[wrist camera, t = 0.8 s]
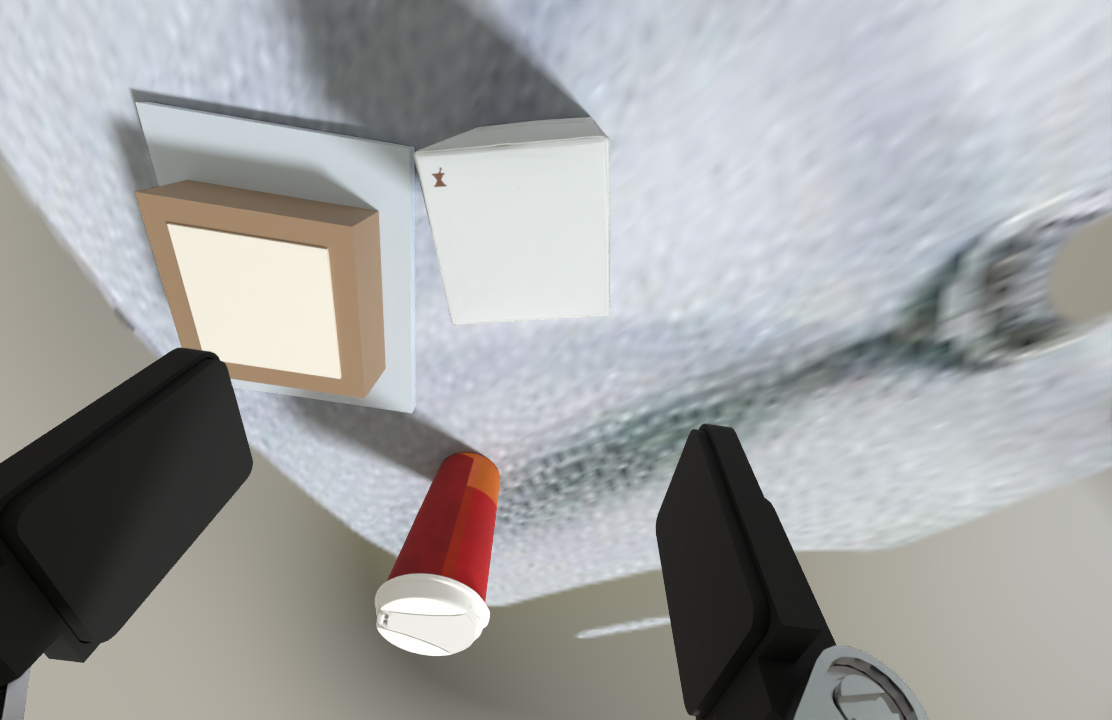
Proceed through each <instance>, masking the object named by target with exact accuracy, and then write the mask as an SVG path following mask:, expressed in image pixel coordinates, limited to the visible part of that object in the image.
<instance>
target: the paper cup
mask: <svg viewBox="0 0 1112 720" xmlns="http://www.w3.org/2000/svg"><path fill="white" fill-rule="evenodd" d="M499 481H500V477H499V471H498V469H497V467H496V466H495V465H494V463H493V462H492V461H490V460H489V459H488V458H486V457H484V456H482V455H479V454H476V453H471V452H461V453H456V454H453V455H451V456H449V457H448V458H446V459H445V460H444V461H443V463H442V464H441V466H440V468H439V470H438V472H437V474H436V476H435V478H434V480H433V482H432V484H431V486H430V489H429V491H428V493H427V495H426V497H425V499H424V501H423V504H422V506H421V508H420V510H419V512H418V514H417V516H416V518H415V521H414V523H413V525H412V527H411V530H410V532H409V534H408V536H407V538H406V541H405V543H404V545H403V547H402V549H401V552H400V554H399V556H398V558H397V560H396V563H395V565H394V567H393V569H392V571H391V573H390V575H389V578H388V580H387V582H385V583H384V584H383V585H382V586H381V587H380V588H379V589H378V591H377V593H376V596H375V607H376V615H377V624H376V626H377V629H378V631H379V632H380V633H381V635H382V636H383V637H384V638H385V639H386V640H388V641H389V642H391V643H392V644H394V645H396V646H397V647H400V648H402V649H404V650H407V651H410V652H413V653H418V654H423V655H432V656H443V655H450V654H454V653H457V652H459V651H462V650H464V649H466V648H467V647H469V646H470V645H471V644H472V643H473V641H474V640H475V639H477V638H478V637H479V636H480V634H481V632H482V629H483V628H484V627H486V626H487V624H488V622H489V618H490V611H489V609H488V607H487V606H486V604H485V599H486V591H487V583H488V575H489V567H490V559H491V551H492V543H493V535H494V527H495V519H496V511H497V502H498V493H499Z"/></svg>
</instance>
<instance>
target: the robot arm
mask: <svg viewBox="0 0 1112 720" xmlns="http://www.w3.org/2000/svg"><path fill="white" fill-rule="evenodd" d="M252 465H253V461H252V456H251V452H250V448H249V445H248V441H247V437H246V434H245V430H244V426H243V423H242V419H241V415H240V412H239V408H238V404H237V401H236V397H235V393H234V390H233V386H232V382H231V379H230V375H229V371H228V368H227V366H226V364H225V363H224V362H223V361H220V359H219V357H218V356H217V355H216V354H215V353H213V352H210V351H203V350H196V349H189V348H176V349H174V350H172V351H170V352H169V353H167V354H166V355H164V356H163V357H161V358H160V359H158V360H157V361H155V362H154V363H152V364H151V365H149V366H148V367H146V368H145V369H143V370H142V371H140V372H138V373H137V374H135V375H134V376H133V377H131V378H129V379H128V380H126V381H125V382H123V383H122V384H120V385H119V386H117V387H116V388H114V389H113V390H111V391H110V392H108V393H107V394H105V395H104V396H102V397H101V398H99V399H97V400H96V401H94V402H93V403H92V404H90V405H88V406H87V407H85V408H84V409H82V410H81V411H79V412H78V413H76V414H75V415H73V416H72V417H70V418H69V419H67V420H66V421H64V422H63V423H61V424H60V425H58V426H56V427H55V428H53V429H52V430H50V431H49V432H47V433H46V434H44V435H43V436H41V437H40V438H38V439H37V440H35V441H34V442H32V443H31V444H29V445H27V446H26V447H24V448H23V449H22V450H20V451H18V452H17V453H15V454H14V455H12V456H11V457H9V458H8V459H6V460H5V461H3V462H2V463H0V720H23V719H24V711H25V703H26V695H27V688H28V681H29V673H30V666H31V665H32V664H33V663H34V662H35V661H36V660H37V659H38V658H39V657H40V656H41V655H42V654H43V653H45V655H46V656H47V657H48V658H49V659H57V660H66V661H74V662H83V663H84V662H85V660H86V659H87V658H88V657H89V656H90V655H91V654H92V652H93V651H94V650H95V649H96V648H97V646H98V645H99V644H100V643H102V642H105V641H108V640H109V639H111V638H112V637H113V636H114V635H115V634H116V633H117V632H118V631H119V630H120V629H121V628H122V627H123V625H124V624H125V623H126V622H127V621H128V619H129V618H130V617H131V616H132V615H133V614H134V612H135V611H136V610H137V609H138V608H139V607H140V605H141V604H142V603H143V602H144V601H145V599H146V598H147V597H148V596H149V595H150V593H151V592H152V591H153V590H154V589H155V588H156V586H157V585H158V584H159V583H160V582H161V580H162V579H163V578H164V577H165V575H166V574H167V573H168V572H169V571H170V569H171V568H172V567H173V566H174V565H175V564H176V563H177V561H178V560H179V559H180V558H181V557H182V555H183V554H184V553H185V552H186V551H187V549H188V548H189V547H190V546H191V545H192V544H193V542H194V541H195V540H196V539H197V538H198V536H199V535H200V534H201V533H202V532H203V530H204V529H205V528H206V527H207V526H208V524H209V523H210V522H211V521H212V520H213V518H214V517H215V516H216V515H217V514H218V512H219V511H220V510H221V509H222V508H223V507H224V505H225V504H226V503H227V502H228V501H229V499H230V498H231V497H232V496H233V495H234V494H235V492H236V491H237V490H238V489H239V488H240V486H241V485H242V484H243V483H244V482H245V480H246V479H247V478H248V476H249V475H250V473H251V470H252ZM656 536H657V542H658V548H659V554H660V560H661V566H662V573H663V579H664V584H665V591H666V597H667V603H668V609H669V615H670V621H671V627H672V633H673V639H674V645H675V651H676V657H677V663H678V668H679V675H680V681H681V687H682V693H683V699H684V704H685V708H686V710H687V712H688V714H689V715H692V716H696V720H929V719H928V716H927V713H926V712H925V710H924V708H923V707H922V705H921V704H920V702H919V700H918V699H917V697H916V696H915V694H914V693H913V692H912V690H911V689H910V688H909V687H908V686H907V685H906V683H905V682H904V681H903V680H902V679H901V678H900V677H899V676H898V675H897V674H896V673H895V672H894V671H893V670H891V669H890V668H889V667H888V666H887V665H886V664H884V663H883V662H882V661H880V660H878V659H877V658H875V657H873V656H872V655H870V654H868V653H867V652H865V651H862V650H859V649H856V648H853V647H850V646H836V643H835V641H834V639H833V637H832V635H831V632H830V630H829V628H828V626H827V624H826V622H825V619H824V617H823V615H822V613H821V610H820V608H819V606H818V604H817V601H816V599H815V597H814V595H813V593H812V590H811V588H810V586H809V584H808V582H807V579H806V577H805V575H804V573H803V571H802V568H801V566H800V564H799V562H798V560H797V557H796V555H795V553H794V551H793V549H792V546H791V544H790V542H789V540H788V537H787V535H786V533H785V531H784V529H783V526H782V524H781V522H780V520H779V518H778V515H777V513H776V511H775V509H774V507H773V506H772V504H771V502H769V501H768V500H767V499H766V498H764V496H763V493H762V491H761V489H760V487H759V484H758V482H757V480H756V477H755V475H754V473H753V471H752V468H751V466H750V464H749V462H748V459H747V457H746V455H745V452H744V450H743V448H742V446H741V443H740V441H739V439H738V437H737V434H736V432H735V431H734V429H733V428H731V427H724V426H717V425H710V424H703V425H702V426H701V427H700V428H699V430H695V429H693V430H692V431H691V432H690V434H689V436H688V439H687V441H686V444H685V447H684V449H683V452H682V454H681V457H680V459H679V462H678V465H677V467H676V470H675V472H674V475H673V477H672V480H671V483H670V485H669V488H668V490H667V493H666V495H665V498H664V500H663V503H662V506H661V508H660V511H659V513H658V516H657V520H656Z"/></svg>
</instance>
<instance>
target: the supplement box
mask: <svg viewBox="0 0 1112 720" xmlns="http://www.w3.org/2000/svg"><path fill="white" fill-rule="evenodd" d="M413 156H414V160H415V164H416V168H417V172H418V176H419V180H420V185H421V189H422V193H423V197H424V202H425V206H426V210H427V214H428V219H429V223H430V227H431V231H432V235H433V240H434V244H435V249H436V254H437V258H438V263H439V267H440V272H441V276H442V281H443V285H444V290H445V295H446V299H447V304H448V308H449V313H450V317H451V321H452V323H453V324H454V325H461V324H477V323H495V322H513V321H529V320H546V319H562V318H578V317H595V316H608V315H610V139H609V137H608V136H606V135H605V134H604V132H603V131H602V130H601V129H600V127H599V126H598V124H597V123H596V122H595V121H594V120H593V118H592V117H582V118H565V119H550V120H536V121H526V122H517V123H508V124H500V125H491V126H483V127H476V128H474V129H472V130H469V131H467V132H464V133H461V134H459V135H456V136H453V137H451V138H448V139H446V140H443V141H441V142H438V143H435V144H433V145H430V146H428V147H425V148H423V149H420V150H417V151H415V152H414V154H413Z"/></svg>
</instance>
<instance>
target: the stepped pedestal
mask: <svg viewBox="0 0 1112 720" xmlns="http://www.w3.org/2000/svg"><path fill="white" fill-rule="evenodd" d="M135 103H136V107H137V110H138V114H139V118H140V121H141V125H142V128H143V132H144V136H145V139H146V143H147V147H148V150H149V154H150V157H151V161H152V165H153V168H154V172H155V175H156V179H157V183H158V187H153V188H149V189H144V190H140V191H135V195H136V198H137V201H138V205H139V208H140V211H141V215H142V218H143V221H144V224H145V228H146V231H147V234H148V238H149V241H150V244H151V248H152V251H153V254H154V257H155V261H156V264H157V267H158V271H159V274H160V277H161V281H162V284H163V287H164V290H165V294H166V297H167V300H168V304H169V307H170V310H171V314H172V317H173V320H174V323H175V327H176V330H177V333H178V337H179V340H180V343H181V346H182V348H189V349H196V350H203V351H210V352H213V353H215V354H216V355H217V356H218V357H219V359H220V361H223V362H224V363H225V364H226V366H227V368H228V371H229V375H230V379H231V382H232V386H233V387H236V388H242V389H249V390H256V391H263V392H270V393H276V394H283V395H290V396H297V397H304V398H310V399H317V400H324V401H331V402H338V403H345V404H351V405H358V406H365V407H372V408H379V409H385V410H392V411H399V412H406V413H413V411H414V409H415V407H416V337H415V160H414V156H413V154H414V152H415V147H412V146H406V145H400V144H394V143H388V142H383V141H377V140H371V139H365V138H359V137H353V136H347V135H341V134H335V133H330V132H324V131H318V130H312V129H306V128H300V127H294V126H288V125H282V124H277V123H271V122H265V121H259V120H253V119H247V118H241V117H235V116H229V115H224V114H218V113H212V112H206V111H200V110H194V109H188V108H182V107H176V106H171V105H165V104H159V103H153V102H135Z"/></svg>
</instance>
